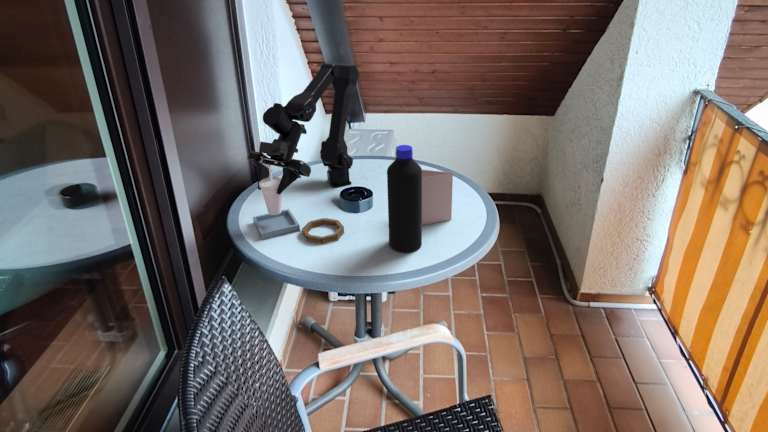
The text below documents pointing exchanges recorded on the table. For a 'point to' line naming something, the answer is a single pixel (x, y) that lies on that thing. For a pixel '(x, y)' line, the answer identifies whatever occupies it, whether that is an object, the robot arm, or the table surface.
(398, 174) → the bottle
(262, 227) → the tray
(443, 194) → the greeting card
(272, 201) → the smoothie
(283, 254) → the table surface
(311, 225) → the collar
